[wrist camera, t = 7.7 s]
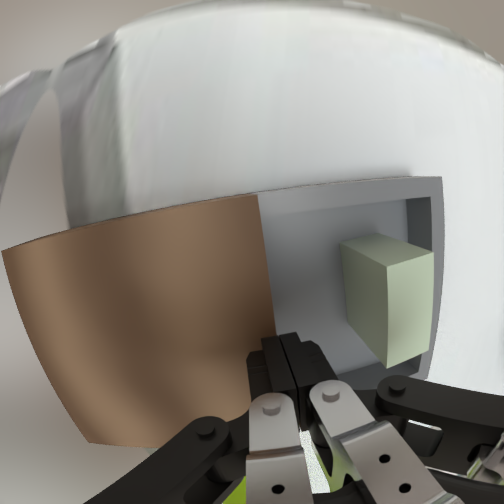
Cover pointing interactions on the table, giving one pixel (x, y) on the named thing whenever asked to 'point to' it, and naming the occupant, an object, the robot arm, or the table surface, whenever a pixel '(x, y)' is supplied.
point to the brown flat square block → (148, 316)
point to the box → (330, 263)
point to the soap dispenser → (238, 494)
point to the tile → (389, 295)
